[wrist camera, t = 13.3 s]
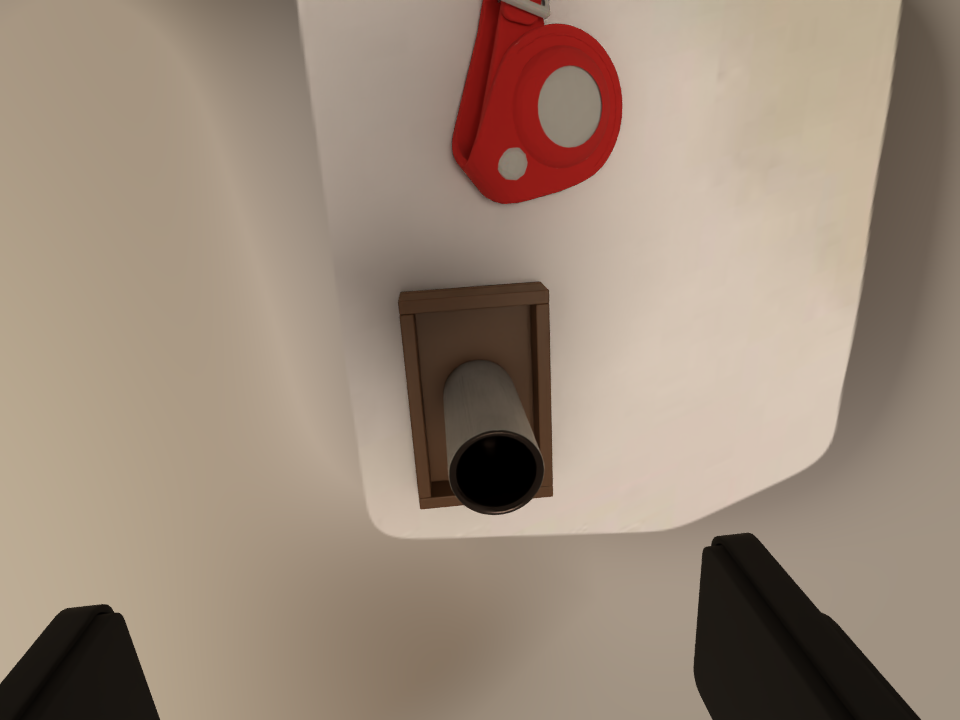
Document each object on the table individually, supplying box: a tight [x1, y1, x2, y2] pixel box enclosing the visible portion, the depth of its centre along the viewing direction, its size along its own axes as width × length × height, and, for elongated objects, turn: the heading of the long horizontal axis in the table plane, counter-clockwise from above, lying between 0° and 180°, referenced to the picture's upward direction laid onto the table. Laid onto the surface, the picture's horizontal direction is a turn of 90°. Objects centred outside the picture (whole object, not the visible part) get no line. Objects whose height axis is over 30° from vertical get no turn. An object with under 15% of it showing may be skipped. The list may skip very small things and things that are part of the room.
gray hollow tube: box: [443, 360, 544, 515], centre depth 31 cm, size 4×4×10 cm
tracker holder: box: [452, 0, 622, 204], centre depth 30 cm, size 12×4×10 cm
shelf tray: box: [398, 282, 553, 509], centre depth 36 cm, size 14×9×3 cm, turn 3°
